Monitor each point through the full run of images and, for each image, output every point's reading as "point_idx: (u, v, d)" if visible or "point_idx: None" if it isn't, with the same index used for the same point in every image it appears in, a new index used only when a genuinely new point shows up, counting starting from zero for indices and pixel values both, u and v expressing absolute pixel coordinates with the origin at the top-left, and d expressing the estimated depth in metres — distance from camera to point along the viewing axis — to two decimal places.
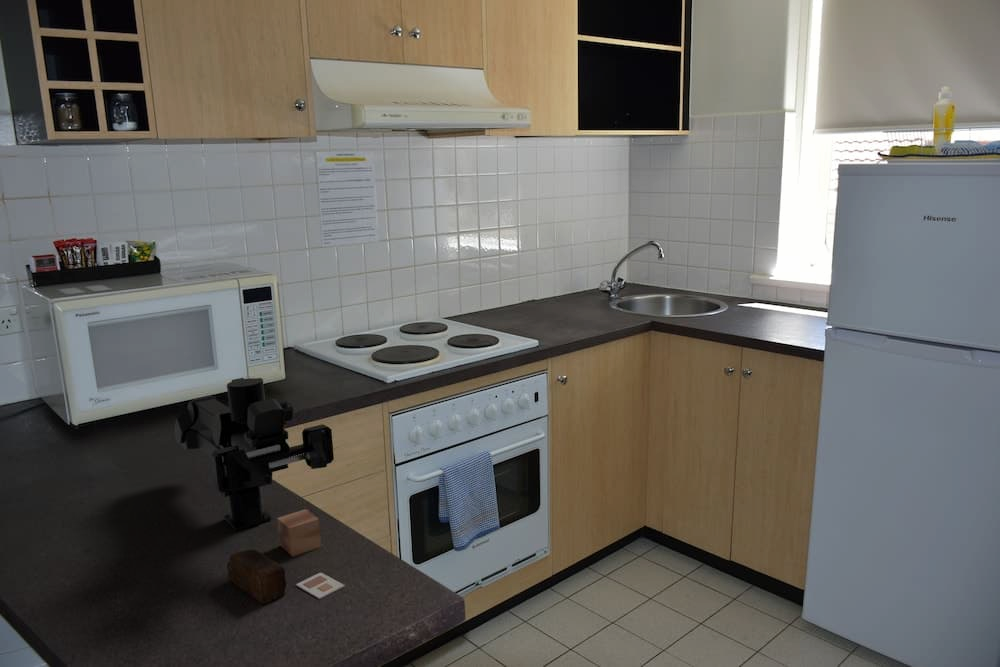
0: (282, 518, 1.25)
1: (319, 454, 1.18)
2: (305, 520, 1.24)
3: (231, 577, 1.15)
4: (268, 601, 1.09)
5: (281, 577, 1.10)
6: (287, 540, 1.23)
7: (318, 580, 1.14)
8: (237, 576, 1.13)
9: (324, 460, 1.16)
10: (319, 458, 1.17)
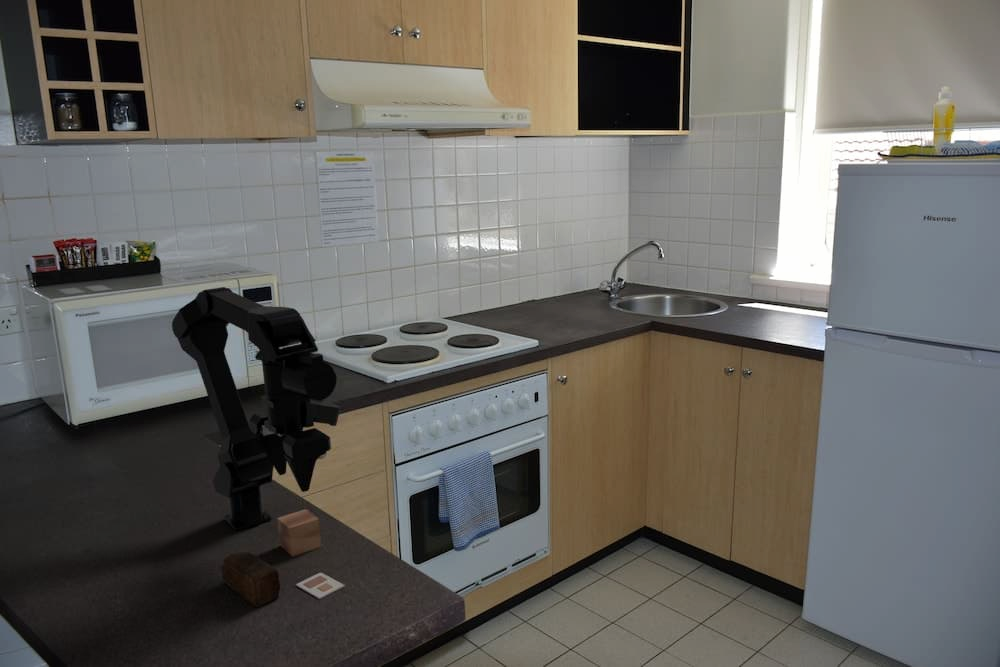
0: (282, 518, 1.25)
1: (286, 460, 1.27)
2: (305, 520, 1.24)
3: (225, 579, 1.14)
4: (261, 604, 1.08)
5: (275, 580, 1.09)
6: (287, 540, 1.23)
7: (318, 580, 1.14)
8: (231, 579, 1.13)
9: (285, 472, 1.27)
10: (284, 464, 1.27)
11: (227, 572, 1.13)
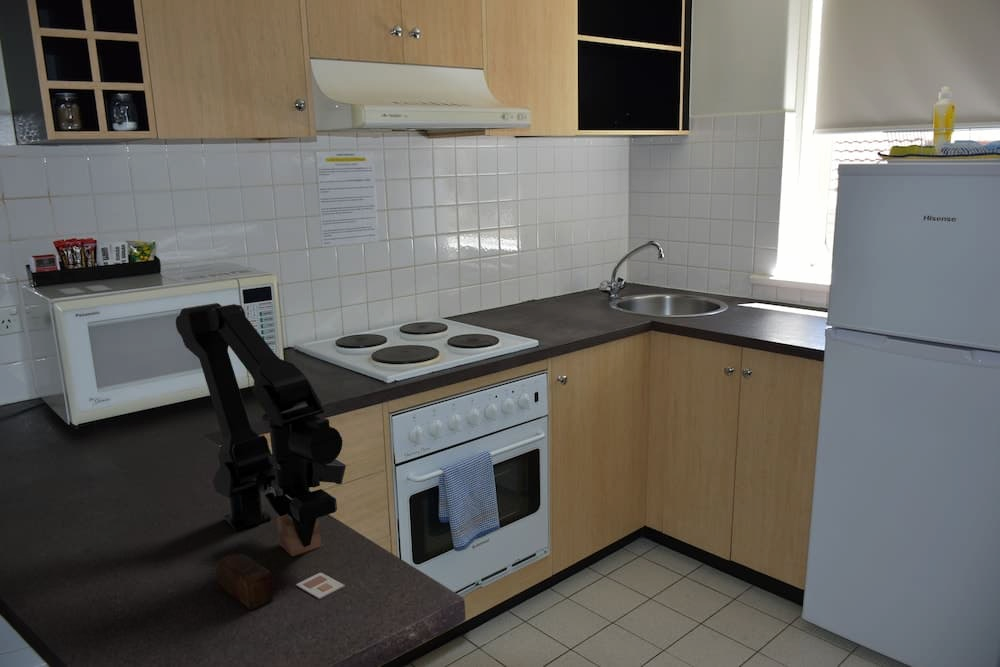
0: (282, 517, 1.25)
1: None
2: None
3: (220, 582, 1.14)
4: (255, 607, 1.08)
5: (269, 582, 1.09)
6: (287, 539, 1.23)
7: (318, 580, 1.14)
8: (226, 581, 1.12)
9: None
10: None
11: (222, 574, 1.13)
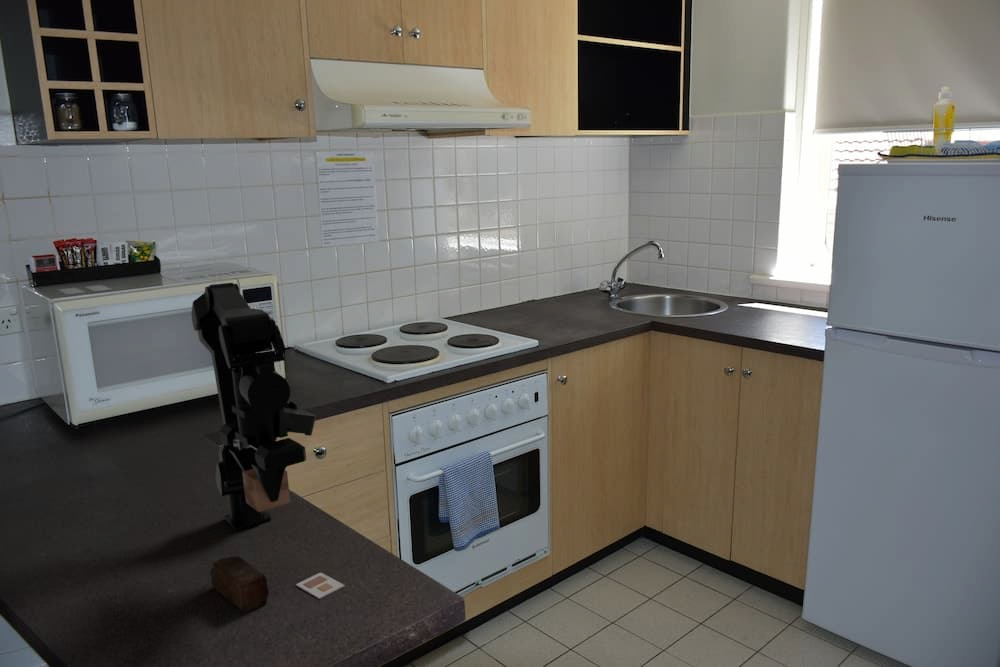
0: (248, 471, 1.16)
1: None
2: None
3: (214, 584, 1.13)
4: (249, 610, 1.07)
5: (263, 585, 1.08)
6: (253, 494, 1.14)
7: (318, 580, 1.14)
8: (220, 584, 1.12)
9: None
10: None
11: (216, 577, 1.12)
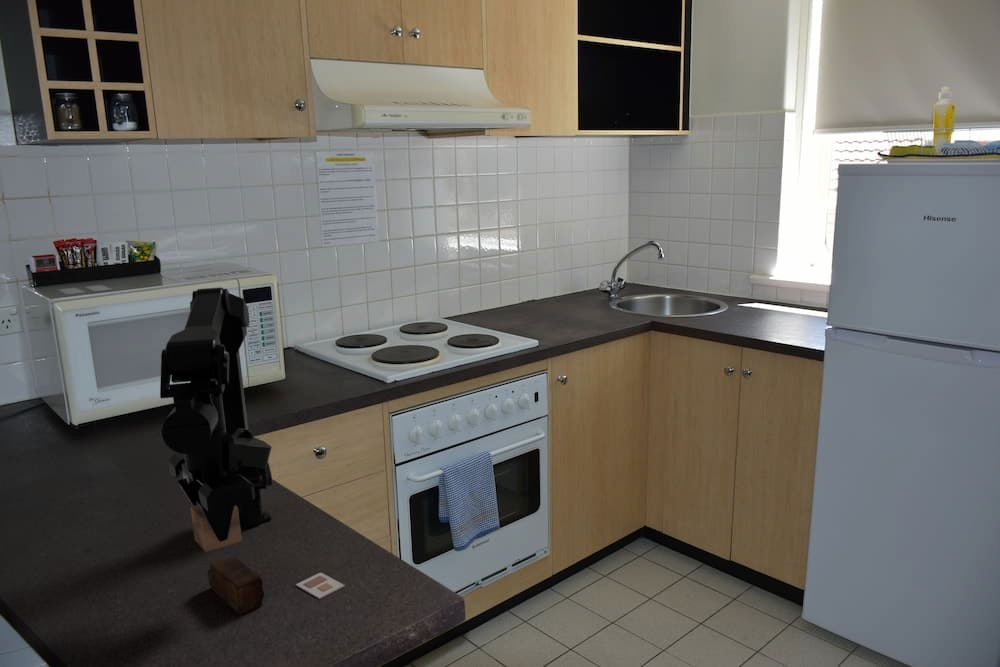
0: (196, 507, 1.07)
1: None
2: None
3: (211, 585, 1.13)
4: (244, 611, 1.07)
5: (258, 587, 1.08)
6: (200, 532, 1.05)
7: (318, 580, 1.14)
8: (216, 585, 1.11)
9: None
10: None
11: (213, 577, 1.12)
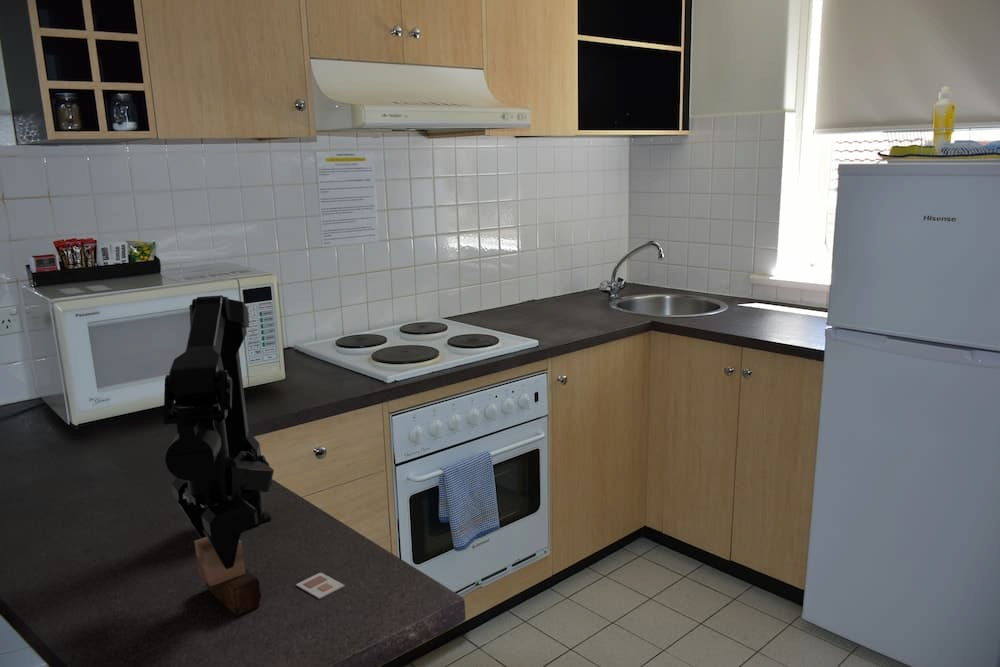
0: (200, 541, 1.08)
1: None
2: None
3: (208, 586, 1.13)
4: (241, 613, 1.06)
5: (255, 588, 1.07)
6: (205, 566, 1.06)
7: (318, 580, 1.14)
8: (213, 586, 1.11)
9: None
10: None
11: None
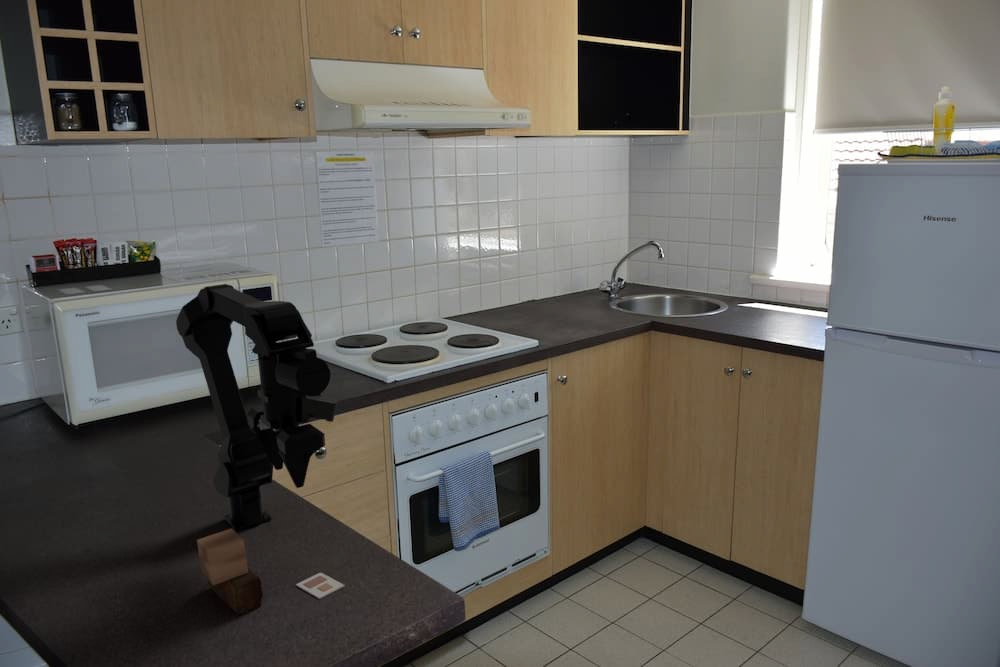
0: (202, 540, 1.09)
1: None
2: (228, 542, 1.07)
3: (211, 585, 1.13)
4: (243, 612, 1.07)
5: (257, 587, 1.08)
6: (207, 565, 1.06)
7: (318, 580, 1.14)
8: (216, 585, 1.11)
9: (282, 467, 1.26)
10: (281, 459, 1.26)
11: None
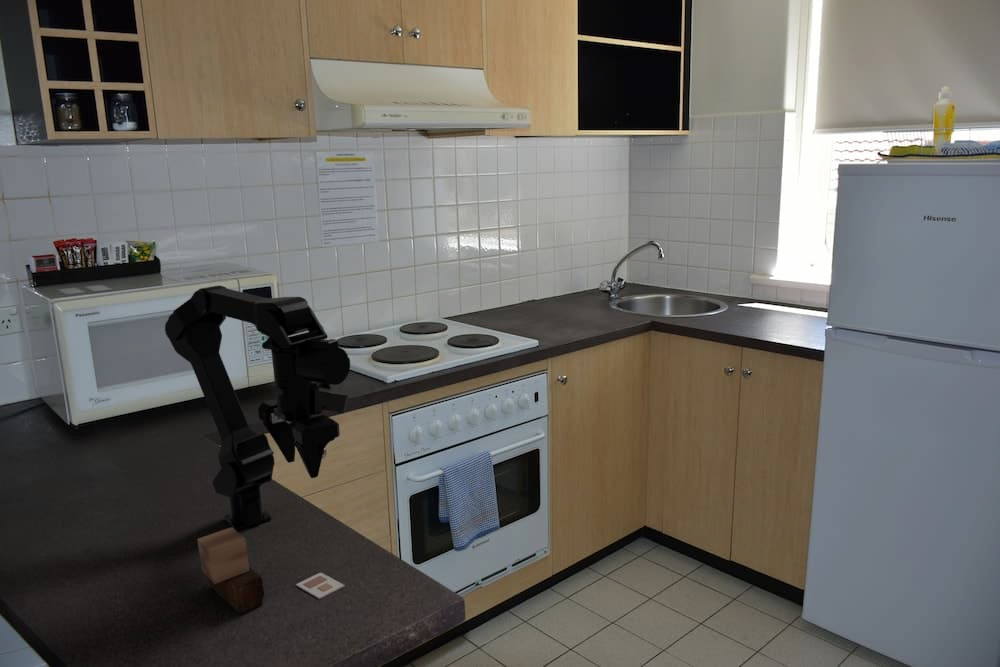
0: (203, 539, 1.09)
1: (294, 448, 1.29)
2: (229, 540, 1.08)
3: (212, 584, 1.13)
4: (244, 611, 1.07)
5: (258, 586, 1.08)
6: (209, 564, 1.07)
7: (318, 580, 1.14)
8: (217, 584, 1.12)
9: (293, 460, 1.29)
10: (293, 452, 1.29)
11: None
